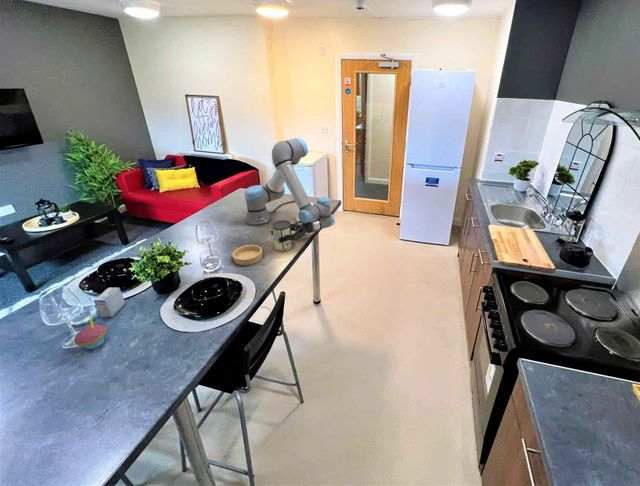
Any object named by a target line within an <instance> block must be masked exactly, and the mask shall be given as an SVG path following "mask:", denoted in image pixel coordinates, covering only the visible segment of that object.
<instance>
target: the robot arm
mask: <svg viewBox="0 0 640 486" xmlns="http://www.w3.org/2000/svg"><path fill="white" fill-rule="evenodd" d="M308 153H309V149H308V145H307V143H306V142H305V140H303V138H298V137H297V138H295V137H294V138H290V139H286V140H280V141H278V142H276V143H275V144H274V146H273V147H272V150H271V160H272V163H273V166H274V168H275V171H274V173H273V174H272V177H271V178H269V179H268V180H267V181H266V183H265V185H260V184H255V185H251V186H249V187H247V188H246V189H245V191H244V198H245V204H246V209H247V212H246V217H245V222H246V224H247V225H250V226H260V225H261V226H262V225H265V224H267V223H269V222H270V221H271V216H270V214H273V213H275V212H276V211H277V210H278V209H279V208H281V206H283V205H286V204H290V203H295V204H296V206H297V208H298V210H299V211H300V212H299V214H298V216H299V219H300V221H299V222H300V223H301V224H299V222H293V223H291V232H294V233H292V234H291V236H290V235H288V236H285V237H281V238H279V243H282V242H285V241H289V240H292V241H293V242H296V241H299V240H300V239H302V238H304V237H306V236H308V235H309V234H311V233H313V232H317V231H320V230H323V229H327V228H330V227H333V226H334V225H335V222H336V219H335V216H334V215H333V214H332V213H331V199H330V198H329V197H325V196H322V197H318V199H317V201H316V203H315V204H313V206H312V204H311V203H312V202H311V200H310V199H309V197H308V195H307V193H306V191H305V188H304V187H303V185H302V183H301V181H300V178H299V177H298V175H297V173H296V171H295V168H294V166H296V165H298V164H299V163H300V161H301V159H302V158H305V157H307V156H308ZM285 185H286V187H287V188H288V190H289V192H290V194H291V196H292V199H293V200H292V201H287V202H284V203H281V204H279V205H278V206H277V207H275V209H274V210H273V211H269V212H268V210H267V205H266V204H269V203H271V202H273V201H276V200H280V199H281V198H283V197H284V196H285V193H286V191H285V189H286V188H285ZM270 234H271V236H273V229H272V230H270Z"/></svg>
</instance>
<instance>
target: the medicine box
mask: <svg viewBox="0 0 640 486" xmlns="http://www.w3.org/2000/svg"><path fill="white" fill-rule="evenodd" d="M93 302H94V305H95V308H96V310H97V311H98V313H99V316H100V318H113V317H114V316H115V315H116V314H117V313H118V311H120V310H121V309H122V307H124V306H125V305H126V300H125V298H124V297H123V293H122V291H121V288H120V287H107V288H106V289H105V290H104V291H103V292H102V293H101V294H99V295H98V296H97V297H96V298H95V299H94V300H93Z"/></svg>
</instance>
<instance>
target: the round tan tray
mask: <svg viewBox="0 0 640 486" xmlns="http://www.w3.org/2000/svg"><path fill="white" fill-rule="evenodd" d="M231 256H232V260H233V262H234V263H235V264H236V265H238V266H250V265H253V264H256V263H258V262H259V261H261V260H262V258H263V249H262V247H261V246H259V245H256V244H246V245H241V246H239V247H237V248H236V249H235V250H234V251H233V252H232V254H231Z"/></svg>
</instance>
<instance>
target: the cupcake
mask: <svg viewBox="0 0 640 486" xmlns="http://www.w3.org/2000/svg"><path fill="white" fill-rule="evenodd" d="M88 319H89V323H90V324H89V325H88V326H86V327H84V328H83V329H81V330H79V332H77V333H76V335H75V336H74V338H73V343H74V345H76V346H79V347H84V348H86V349H87V350H94V349H97V348H99V347H101V346H102V345H103V344H104V342H105V336H106V335H107V332H108V329H107V325H105V324H102V323H97V324H96V323H95V324H94V321H93V316H92V315H91V314H90V315H89V318H88Z"/></svg>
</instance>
